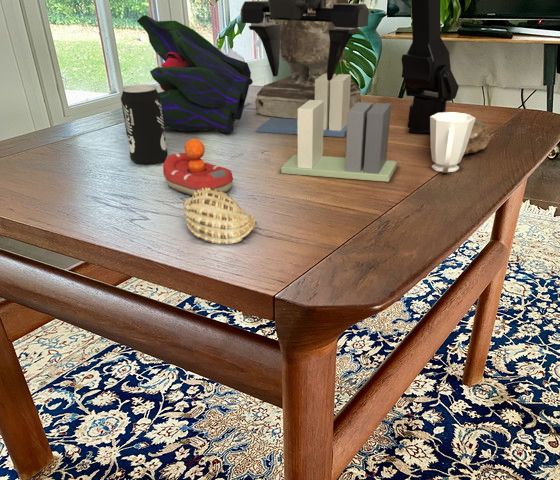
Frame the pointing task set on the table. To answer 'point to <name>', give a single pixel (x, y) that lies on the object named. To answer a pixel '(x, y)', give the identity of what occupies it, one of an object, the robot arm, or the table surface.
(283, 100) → the sculpture
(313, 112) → the white box
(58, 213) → the table surface
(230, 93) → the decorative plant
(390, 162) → the green base board
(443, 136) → the cup
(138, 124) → the beverage can
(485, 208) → the table surface
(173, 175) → the toy boat
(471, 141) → the rock
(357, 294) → the table surface
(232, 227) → the seashell
